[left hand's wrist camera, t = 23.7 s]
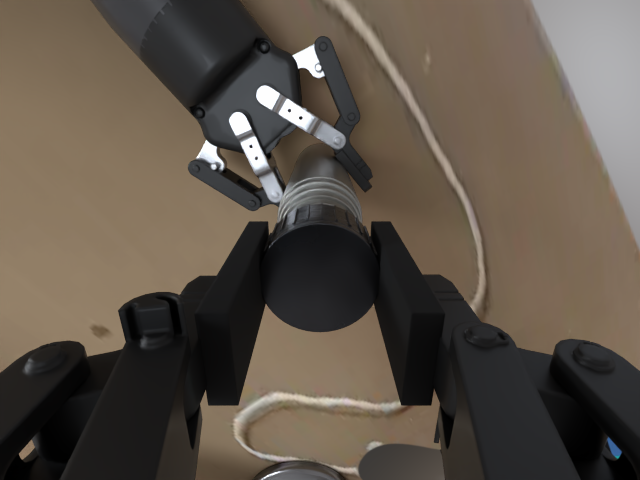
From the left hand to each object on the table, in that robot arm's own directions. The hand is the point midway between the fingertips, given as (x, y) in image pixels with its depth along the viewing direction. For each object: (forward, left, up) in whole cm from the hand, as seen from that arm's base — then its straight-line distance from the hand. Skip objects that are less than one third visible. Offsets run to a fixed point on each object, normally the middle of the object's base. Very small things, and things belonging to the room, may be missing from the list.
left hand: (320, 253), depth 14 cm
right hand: (-3, 0, -14) cm, 14 cm away
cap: (0, 0, +2) cm, 2 cm away
